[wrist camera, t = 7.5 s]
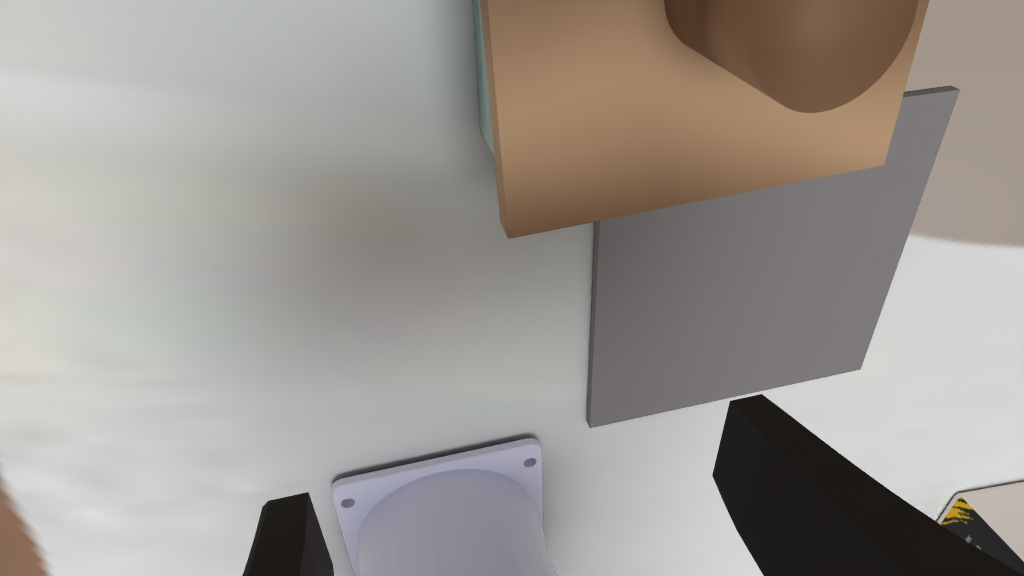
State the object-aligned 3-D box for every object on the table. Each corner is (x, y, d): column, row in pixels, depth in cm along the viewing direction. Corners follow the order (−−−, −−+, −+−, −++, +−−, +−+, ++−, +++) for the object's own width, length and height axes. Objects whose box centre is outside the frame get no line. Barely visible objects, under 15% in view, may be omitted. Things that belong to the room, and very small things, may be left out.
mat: (854, 363, 29) (860, 369, 29) (586, 420, 27) (590, 427, 27) (950, 85, 22) (960, 89, 22) (599, 132, 20) (604, 138, 20)
